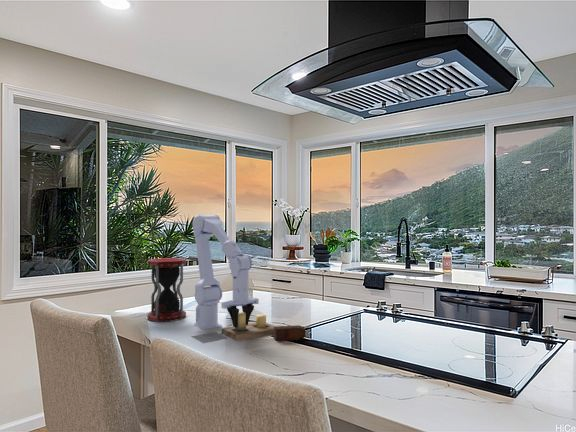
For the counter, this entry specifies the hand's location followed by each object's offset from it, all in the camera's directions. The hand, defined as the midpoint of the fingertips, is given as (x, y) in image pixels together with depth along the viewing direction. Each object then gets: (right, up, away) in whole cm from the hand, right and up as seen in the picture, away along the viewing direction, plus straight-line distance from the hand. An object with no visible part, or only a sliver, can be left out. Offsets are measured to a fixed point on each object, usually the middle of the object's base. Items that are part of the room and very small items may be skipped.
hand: (240, 325), depth 151 cm
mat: (-10, -4, -3) cm, 12 cm away
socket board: (+4, -4, +3) cm, 6 cm away
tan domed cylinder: (+7, -4, +5) cm, 10 cm away
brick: (+18, -4, -5) cm, 19 cm away
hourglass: (-35, -4, +28) cm, 45 cm away
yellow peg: (0, -1, 0) cm, 1 cm away
